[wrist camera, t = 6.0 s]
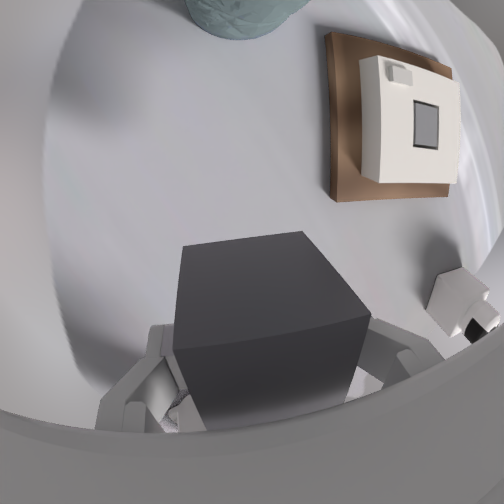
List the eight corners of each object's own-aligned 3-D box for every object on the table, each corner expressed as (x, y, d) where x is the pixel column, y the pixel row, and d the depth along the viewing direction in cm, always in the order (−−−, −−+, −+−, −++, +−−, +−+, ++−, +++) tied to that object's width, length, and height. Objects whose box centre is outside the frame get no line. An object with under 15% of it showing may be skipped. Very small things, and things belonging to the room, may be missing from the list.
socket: (438, 176, 24) (460, 185, 21) (361, 175, 23) (383, 184, 20) (439, 82, 19) (463, 83, 16) (358, 60, 18) (381, 54, 15)
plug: (289, 338, 15) (329, 438, 9) (210, 350, 14) (222, 460, 8) (290, 218, 11) (371, 313, 6) (185, 231, 11) (172, 349, 5)
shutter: (430, 145, 20) (436, 146, 19) (409, 142, 20) (415, 144, 19) (431, 107, 18) (437, 108, 18) (410, 102, 18) (415, 102, 17)
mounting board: (439, 193, 27) (447, 196, 26) (329, 197, 25) (336, 202, 24) (442, 68, 20) (451, 68, 18) (324, 35, 18) (331, 31, 16)
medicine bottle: (451, 300, 37) (491, 342, 27) (424, 311, 37) (467, 360, 26) (462, 265, 34) (510, 306, 23) (436, 274, 33) (488, 322, 23)
